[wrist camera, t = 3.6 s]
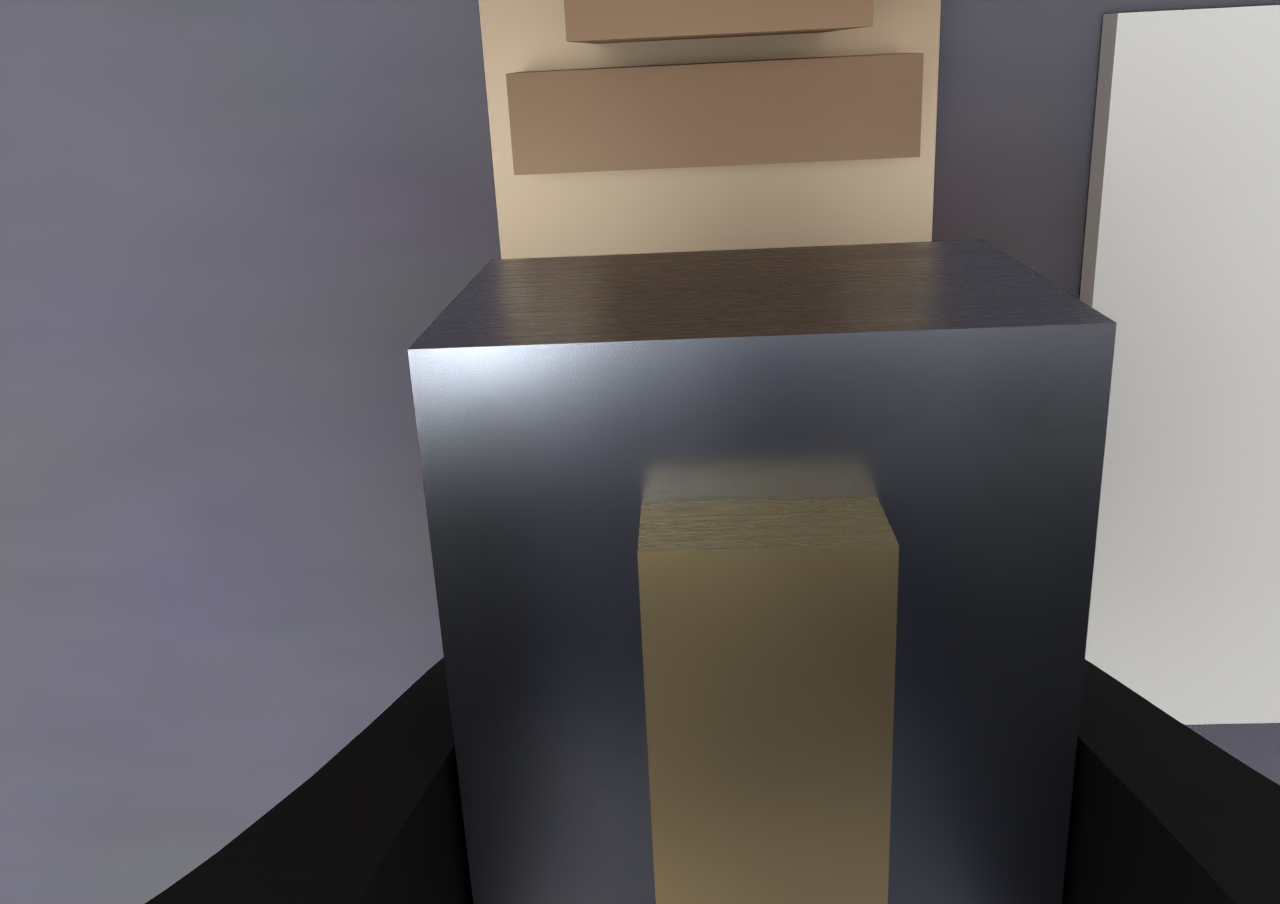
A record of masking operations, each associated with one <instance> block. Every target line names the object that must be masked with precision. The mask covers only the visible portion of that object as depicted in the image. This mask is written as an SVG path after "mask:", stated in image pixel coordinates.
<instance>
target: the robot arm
mask: <svg viewBox="0 0 1280 904" xmlns="http://www.w3.org/2000/svg"><path fill="white" fill-rule="evenodd" d="M145 904H473V896H472V888H471V880H470V871H469V863H468V854H467V846H466V837H465V829H464V821H463V812H462V804H461V795H460V787H459V778H458V770H457V761H456V753H455V745H454V736H453V728H452V719H451V711H450V702H449V694H448V686H447V677H446V669H445V660H444V658H442V659H441V660H440V661H439V662H438V663H436V664H435V665H434V666H433V667H432V668H430V669H429V670H428V671H427V672H426V673H425V674H424V675H423V676H422V677H421V678H419V679H418V680H417V681H416V682H415V683H414V684H413V685H412V686H411V687H410V688H409V689H408V690H407V691H405V692H404V693H403V694H402V695H401V696H400V697H399V698H398V699H397V700H396V701H395V702H394V703H393V704H392V705H391V706H389V707H388V708H387V709H386V710H385V711H384V712H383V713H382V714H381V715H380V716H379V717H378V718H377V719H375V720H374V721H373V722H372V723H371V724H370V725H369V726H368V727H367V728H366V729H364V730H363V731H362V732H361V733H360V734H359V735H358V736H357V737H355V738H354V739H353V740H352V741H351V742H350V743H349V744H348V745H347V746H345V747H344V748H343V749H342V750H341V751H340V752H339V753H338V754H336V755H335V756H334V757H333V758H332V759H331V760H330V761H329V762H328V763H326V764H325V765H324V766H323V767H322V768H321V769H320V770H319V771H318V772H316V773H315V774H314V775H313V776H312V777H311V778H309V779H308V780H307V781H306V782H304V783H303V784H302V785H301V786H299V787H298V788H297V789H296V790H295V791H293V792H292V793H291V794H290V795H288V796H287V797H286V798H285V799H283V800H282V801H281V802H280V803H278V804H277V805H276V806H275V807H273V808H272V809H271V810H270V811H268V812H267V813H266V814H265V815H264V816H262V817H261V818H260V819H259V820H257V821H256V822H255V823H254V824H252V825H251V826H250V827H249V828H247V829H246V830H245V831H244V832H242V833H241V834H240V835H239V836H237V837H236V838H235V839H234V840H233V841H231V842H230V843H229V844H228V845H226V846H225V847H224V848H223V849H221V850H220V851H219V852H217V853H216V854H215V855H213V856H212V857H211V858H209V859H208V860H206V861H205V862H204V863H202V864H201V865H200V866H198V867H197V868H196V869H194V870H193V871H191V872H190V873H189V874H187V875H186V876H184V877H183V878H182V879H180V880H179V881H177V882H176V883H175V884H173V885H172V886H170V887H169V888H168V889H166V890H165V891H163V892H162V893H160V894H159V895H157V896H156V897H154V898H153V899H151V900H150V901H148V902H147V903H145ZM1062 904H1280V786H1279V785H1278V784H1276V783H1275V782H1273V781H1271V780H1270V779H1268V778H1266V777H1265V776H1263V775H1261V774H1260V773H1258V772H1257V771H1255V770H1253V769H1252V768H1250V767H1249V766H1247V765H1245V764H1244V763H1242V762H1241V761H1239V760H1238V759H1236V758H1234V757H1233V756H1231V755H1230V754H1228V753H1227V752H1225V751H1223V750H1222V749H1220V748H1219V747H1217V746H1216V745H1214V744H1213V743H1211V742H1210V741H1208V740H1206V739H1205V738H1203V737H1202V736H1200V735H1199V734H1197V733H1196V732H1194V731H1193V730H1191V729H1190V728H1188V727H1187V726H1185V725H1184V724H1182V723H1181V722H1179V721H1178V720H1176V719H1175V718H1173V717H1172V716H1170V715H1169V714H1167V713H1166V712H1164V711H1163V710H1161V709H1160V708H1158V707H1157V706H1155V705H1154V704H1152V703H1151V702H1149V701H1148V700H1146V699H1145V698H1143V697H1142V696H1140V695H1139V694H1137V693H1136V692H1134V691H1133V690H1131V689H1130V688H1128V687H1127V686H1125V685H1124V684H1122V683H1121V682H1119V681H1118V680H1116V679H1115V678H1113V677H1112V676H1110V675H1109V674H1107V673H1106V672H1104V671H1103V670H1101V669H1100V668H1098V667H1097V666H1095V665H1094V664H1092V663H1090V662H1089V661H1087V660H1086V659H1085V663H1084V674H1083V684H1082V695H1081V705H1080V716H1079V727H1078V737H1077V748H1076V758H1075V769H1074V779H1073V790H1072V801H1071V811H1070V822H1069V832H1068V843H1067V853H1066V864H1065V874H1064V885H1063V896H1062Z"/></svg>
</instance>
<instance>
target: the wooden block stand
mask: <svg viewBox="0 0 1280 904" xmlns="http://www.w3.org/2000/svg"><path fill="white" fill-rule="evenodd" d="M479 10H480V22H481V33H482V44H483V56H484V67H485V79H486V90H487V101H488V113H489V124H490V135H491V147H492V158H493V169H494V181H495V192H496V203H497V215H498V226H499V237H500V249H501V259H520V258H544V257H568V256H592V255H616V254H640V253H664V252H688V251H712V250H736V249H760V248H785V247H809V246H833V245H857V244H881V243H905V242H929V241H932V219H933V193H934V168H935V142H936V117H937V91H938V65H939V40H940V14H941V0H479Z"/></svg>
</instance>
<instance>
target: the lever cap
mask: <svg viewBox="0 0 1280 904" xmlns="http://www.w3.org/2000/svg"><path fill="white" fill-rule="evenodd" d="M1116 325H1117V323H1116V322H1115V321H1113V320H1111V319H1110V318H1108V317H1107V316H1105V315H1103V314H1102V313H1100V312H1098V311H1097V310H1095V309H1094V308H1092V307H1090V306H1089V305H1087V304H1085V303H1084V302H1082V301H1081V300H1079V299H1077V298H1076V297H1074V296H1073V295H1071V294H1069V293H1068V292H1066V291H1064V290H1063V289H1061V288H1060V287H1058V286H1056V285H1055V284H1053V283H1052V282H1050V281H1048V280H1047V279H1045V278H1043V277H1042V276H1040V275H1039V274H1037V273H1035V272H1034V271H1032V270H1031V269H1029V268H1027V267H1026V266H1024V265H1022V264H1021V263H1019V262H1018V261H1016V260H1014V259H1013V258H1011V257H1010V256H1008V255H1006V254H1005V253H1003V252H1001V251H1000V250H998V249H997V248H995V247H993V246H992V245H990V244H988V243H987V242H985V241H984V240H982V239H977V240H953V241H929V242H905V243H881V244H857V245H833V246H809V247H785V248H760V249H736V250H712V251H688V252H664V253H640V254H616V255H592V256H568V257H544V258H520V259H495V260H490V261H489V262H488V263H487V264H486V265H485V266H484V268H483V269H482V270H481V271H480V272H479V273H478V274H477V275H476V276H475V277H474V278H473V279H472V281H471V282H470V283H469V284H468V285H467V286H466V287H465V288H464V289H463V290H462V291H461V292H460V294H459V295H458V296H457V297H456V298H455V299H454V300H453V301H452V302H451V303H450V304H449V305H448V307H447V308H446V309H445V310H444V311H443V312H442V313H441V314H440V315H439V316H438V317H437V318H436V319H435V321H434V322H433V323H432V324H431V325H430V326H429V327H428V328H427V329H426V330H425V331H424V332H423V334H422V335H421V336H420V337H419V338H418V339H417V340H416V341H415V342H414V343H413V344H412V345H411V347H410V348H409V349H408V357H409V365H410V373H411V382H412V390H413V399H414V407H415V416H416V424H417V433H418V441H419V449H420V458H421V466H422V475H423V483H424V492H425V500H426V508H427V517H428V525H429V534H430V542H431V551H432V559H433V567H434V576H435V584H436V593H437V601H438V610H439V618H440V627H441V635H442V643H443V652H444V660H445V669H446V677H447V686H448V694H449V702H450V711H451V719H452V728H453V736H454V745H455V753H456V761H457V770H458V778H459V787H460V795H461V804H462V812H463V821H464V829H465V837H466V846H467V854H468V863H469V871H470V880H471V888H472V896H473V904H1062V896H1063V885H1064V874H1065V864H1066V853H1067V843H1068V832H1069V822H1070V811H1071V801H1072V790H1073V779H1074V769H1075V758H1076V748H1077V737H1078V727H1079V716H1080V705H1081V695H1082V684H1083V674H1084V663H1085V653H1086V642H1087V632H1088V621H1089V610H1090V600H1091V589H1092V579H1093V568H1094V558H1095V547H1096V537H1097V526H1098V515H1099V505H1100V494H1101V484H1102V473H1103V463H1104V452H1105V441H1106V431H1107V420H1108V410H1109V399H1110V389H1111V378H1112V368H1113V357H1114V346H1115V336H1116Z"/></svg>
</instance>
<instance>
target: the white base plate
mask: <svg viewBox="0 0 1280 904" xmlns="http://www.w3.org/2000/svg"><path fill="white" fill-rule="evenodd" d="M1079 300H1081V301H1082V302H1084V303H1085V304H1087V305H1089V306H1090V307H1092V308H1094V309H1095V310H1097V311H1098V312H1100V313H1102V314H1103V315H1105V316H1107V317H1108V318H1110V319H1111V320H1113V321H1115V322H1116V323H1117V325H1116V336H1115V346H1114V357H1113V368H1112V378H1111V389H1110V399H1109V410H1108V420H1107V431H1106V441H1105V452H1104V463H1103V473H1102V484H1101V494H1100V505H1099V515H1098V526H1097V537H1096V547H1095V558H1094V568H1093V579H1092V589H1091V600H1090V610H1089V621H1088V632H1087V642H1086V653H1085V659H1086V660H1087V661H1089V662H1090V663H1092V664H1094V665H1095V666H1097V667H1098V668H1100V669H1101V670H1103V671H1104V672H1106V673H1107V674H1109V675H1110V676H1112V677H1113V678H1115V679H1116V680H1118V681H1119V682H1121V683H1122V684H1124V685H1125V686H1127V687H1128V688H1130V689H1131V690H1133V691H1134V692H1136V693H1137V694H1139V695H1140V696H1142V697H1143V698H1145V699H1146V700H1148V701H1149V702H1151V703H1152V704H1154V705H1155V706H1157V707H1158V708H1160V709H1161V710H1163V711H1164V712H1166V713H1167V714H1169V715H1170V716H1172V717H1173V718H1175V719H1176V720H1178V721H1179V722H1181V723H1182V724H1184V725H1193V724H1242V723H1280V5H1269V6H1250V7H1230V8H1210V9H1190V10H1171V11H1151V12H1131V13H1114V14H1103V25H1102V37H1101V49H1100V61H1099V73H1098V85H1097V97H1096V109H1095V121H1094V133H1093V144H1092V156H1091V168H1090V180H1089V192H1088V204H1087V216H1086V228H1085V240H1084V252H1083V264H1082V275H1081V287H1080V299H1079Z"/></svg>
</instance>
